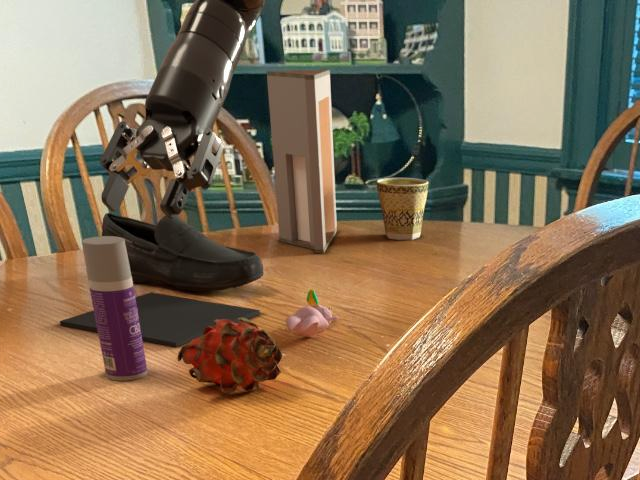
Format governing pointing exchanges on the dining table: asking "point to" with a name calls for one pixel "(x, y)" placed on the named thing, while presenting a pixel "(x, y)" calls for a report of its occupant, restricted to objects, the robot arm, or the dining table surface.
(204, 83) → the robot arm
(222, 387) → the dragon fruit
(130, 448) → the dining table surface
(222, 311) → the mat
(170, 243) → the loafer
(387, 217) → the ceramic cup
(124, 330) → the container
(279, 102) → the cabinet
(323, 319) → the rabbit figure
